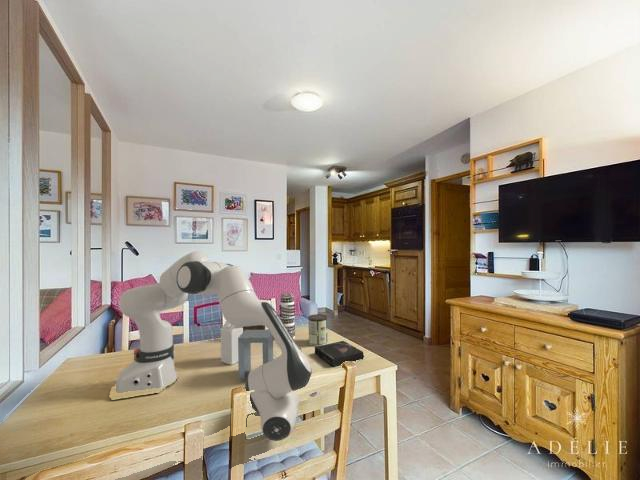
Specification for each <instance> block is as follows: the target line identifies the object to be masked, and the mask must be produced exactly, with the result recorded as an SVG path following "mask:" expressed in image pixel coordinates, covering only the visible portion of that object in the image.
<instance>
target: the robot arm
mask: <svg viewBox="0 0 640 480" xmlns="http://www.w3.org/2000/svg"><path fill="white" fill-rule="evenodd" d="M189 295H206V296H208V295H216V296H217V301H218V302H219V307H220V311H221V312H222V315H223V318H224V319H225V322H226V321H228V322H229V323H230V324H232V325H235V326H241V327H246V326H256V325H263V326H265V328H267V330H270V332H271V334H272V335H273V340H275V342H276V344H277V345H278V347H279V349H280V350H281V354H280V355H279V356H278V357H276V358H273V360H272V361H270V362H268V363H266V364H263V363H262V364H261V365H260V366H257V367H255V368H254V369H251V370H250V372H249V373H248V375H247V377H246V379H245V383H244V390H245V389H246V391H250V390H255V391H254V392H251V393H250V401H251V404H252V407H251V409H253V411H255V413H257V414H259V417H260V418H259V419H260V427H261V432H262V434H263V436H264V437H265V438H267V440H270V441H274V442H278V441H279V442H280V441H282V440H285V439H286V438H288V437H289V436H290V435H291V434H292V431H293V430H294V427H295V425H296V422H297V418H298V417H297V416H298V408H299V405H300V400H299V396H298V395H294V394H290V392H292V391H296V390H298V389H301V388H303V387H305V386H306V385H307V384H308V382H309V380H310V377H311V375H312V373H313V371H312V367H311V364H310V361H309V359H308V357H306V355H305V354H304V352H303V351H302V349H301V350H300V348H301V347H299V345H298V344H297V342H296V341H295V338H294V339H293V338H292V336H291V334H290V333H289V331H288V330H287V328H286V326H285V325H284V323H283V322H282V320H281V318H280V314H278V313H277V311H276V309H275V308H274V307H273V306H272V305H271V304H270V303H269V302H266V301H261V300H260V299H259V297H258V296H257V294H256V292H255V290H254V287H253V284H252V283H251V281H250V279H249V277H248V275H247V274H246V272H245V270H244V269H243V268H242V267H240V266H237V265H233V264H230V263H223V262H218V261H210V259H209V257H208V256H207V254H205V253H203V252H201V251H192V252H190V253H188V254H187V253H186V255H184V256H182V257H180V258H179V259H177V260H176V261H175V262H174V263H173V264H171V265H170V266H169V267H168V268H167V269H166V270H164V272H162V273H161V275H160V277H159V282H157V283H154V284H148V285H147V284H145V285H140V286H136V287H133V288H129V289H127V290H125V291H123V292H122V294H121V295H120V297H119V299H118V308H119V311H120V312H121V314H122V315H124V317H125V316H126V317H127V318H130V319H131V320H132V321H133V322H134V323H135V324H136V327H137V329H138V332H139V343H140V344H139V345H140V346H139V347H140V348H139V347H135V349H134V350H133V361H131V362H130V363H129V364H128V365H127V366H126V367H124V368H123V369H122V370H121V371H120V373H119V374H118V376H117V379H116V383H115V384H116V392H117V393H123V392H128V391H137V390H146V389H153V388H155V389H156V388H157V389H159V390H160V389H162V388H163V387H165V386H167V385H169V384H171V383H172V382H173V381H175V380H176V379H177V377H178V375H177V371H176V367H175V361H174V360H175V346H174V345H175V344H174V342H173V340H174V339H173V334H174V333H173V326H172V324H171V323H170V322H169V321H168V320H164V319H162V318H161V316H160V314H161V312H163V311H167V310H171V309H174V308H177V307H179V306H182V305H183V304H185V303H186V301H187V299H188V298H189ZM177 380H178V379H177ZM320 393H321V391H320V392H319V391H318V392H314V393H312V394H310V395H309V396H311V397H310V398H314V397H316V396H317V395H319V394H320Z"/></svg>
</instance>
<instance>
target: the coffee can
mask: <svg viewBox="0 0 640 480" xmlns="http://www.w3.org/2000/svg"><path fill="white" fill-rule="evenodd" d="M308 344H309V345H311V346H314V347H317V346H322V345H326V344H329V343H328V315H326V314H321V313H318V314H316V313H315V314H311V315H308Z"/></svg>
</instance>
